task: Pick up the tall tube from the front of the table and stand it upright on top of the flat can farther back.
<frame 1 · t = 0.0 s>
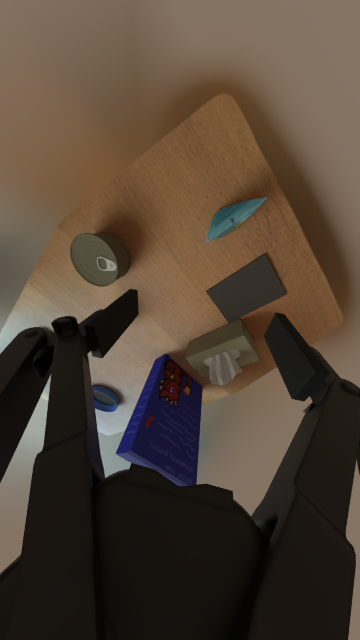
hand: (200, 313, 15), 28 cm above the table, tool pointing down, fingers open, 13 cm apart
thin charcoal rectangular slate: (244, 292, 41), on the table
tube: (224, 222, 34), on the table
blue round tray: (104, 395, 83), on the table
cereal box: (179, 373, 63), on the table
tissue box: (219, 341, 51), on the table
can: (110, 257, 43), on the table
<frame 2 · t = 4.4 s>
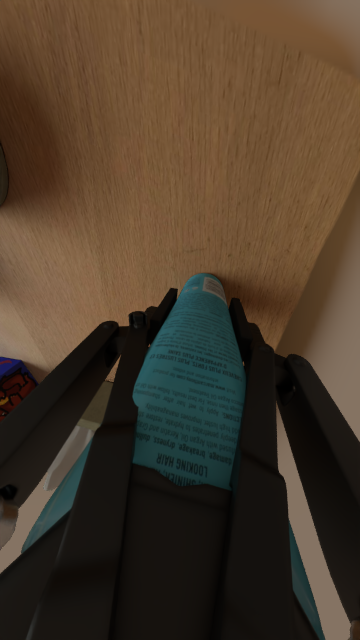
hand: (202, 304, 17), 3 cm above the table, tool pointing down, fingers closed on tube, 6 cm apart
tube: (203, 292, 20), on the table, touching gripper
cereal box: (33, 387, 42), on the table
tissue box: (106, 392, 37), on the table
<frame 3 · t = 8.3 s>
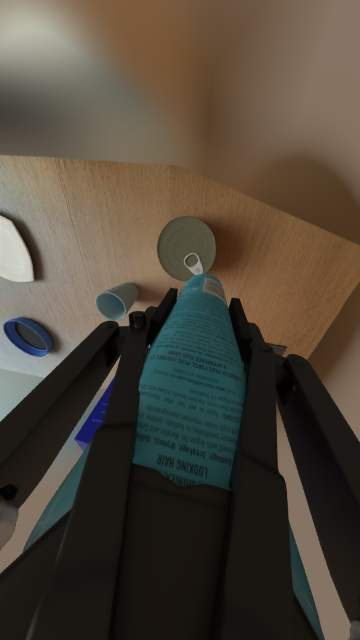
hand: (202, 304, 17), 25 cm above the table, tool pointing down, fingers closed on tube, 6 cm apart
tube: (203, 293, 20), point 21 cm above the table, touching gripper
cup: (130, 291, 46), on the table
blue round tray: (34, 334, 65), on the table
cereal box: (145, 367, 63), on the table
plate: (6, 247, 46), on the table
can: (190, 247, 37), on the table
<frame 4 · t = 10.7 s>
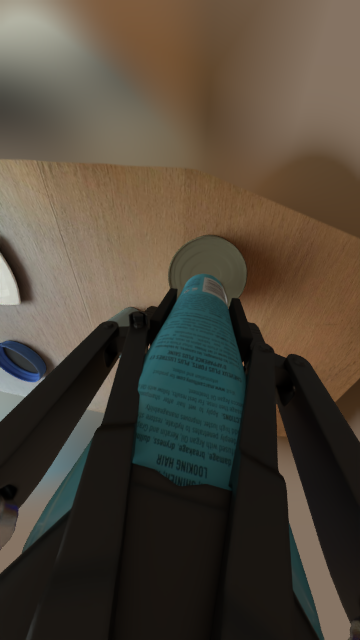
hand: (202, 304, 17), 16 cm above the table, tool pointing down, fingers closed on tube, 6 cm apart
tube: (203, 293, 20), point 12 cm above the table, touching gripper
cup: (133, 316, 39), on the table
blue round tray: (25, 357, 58), on the table
can: (207, 269, 30), on the table
when the fingers open (10 cm above the table, at t = 12.4 s): tube stays where it is, resting on can.
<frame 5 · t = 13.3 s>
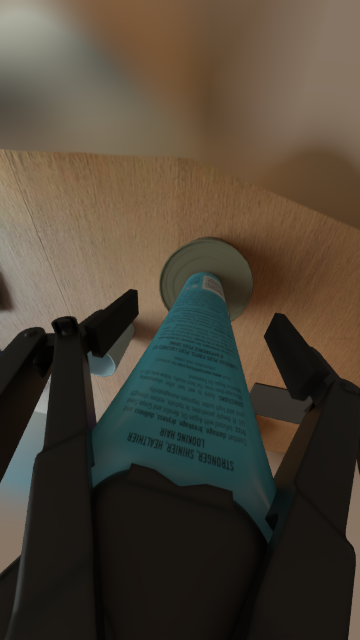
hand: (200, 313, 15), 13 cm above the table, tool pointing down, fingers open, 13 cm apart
thin charcoal rectangular slate: (279, 404, 39), on the table
tube: (203, 291, 21), point 7 cm above the table, touching can
cup: (123, 326, 35), on the table
can: (205, 275, 26), on the table, touching tube
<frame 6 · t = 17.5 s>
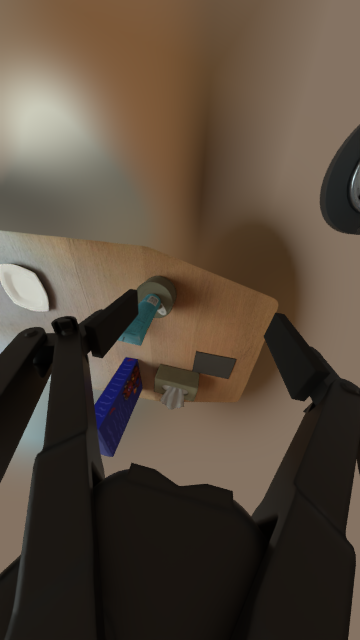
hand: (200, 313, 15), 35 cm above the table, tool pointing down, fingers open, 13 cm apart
thin charcoal rectangular slate: (212, 365, 66), on the table
tube: (153, 301, 48), point 7 cm above the table, touching can
cereal box: (134, 373, 79), on the table
tissue box: (178, 374, 74), on the table
plate: (29, 287, 63), on the table
can: (160, 292, 53), on the table, touching tube
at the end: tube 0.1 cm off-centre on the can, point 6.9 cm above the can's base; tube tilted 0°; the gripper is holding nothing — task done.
